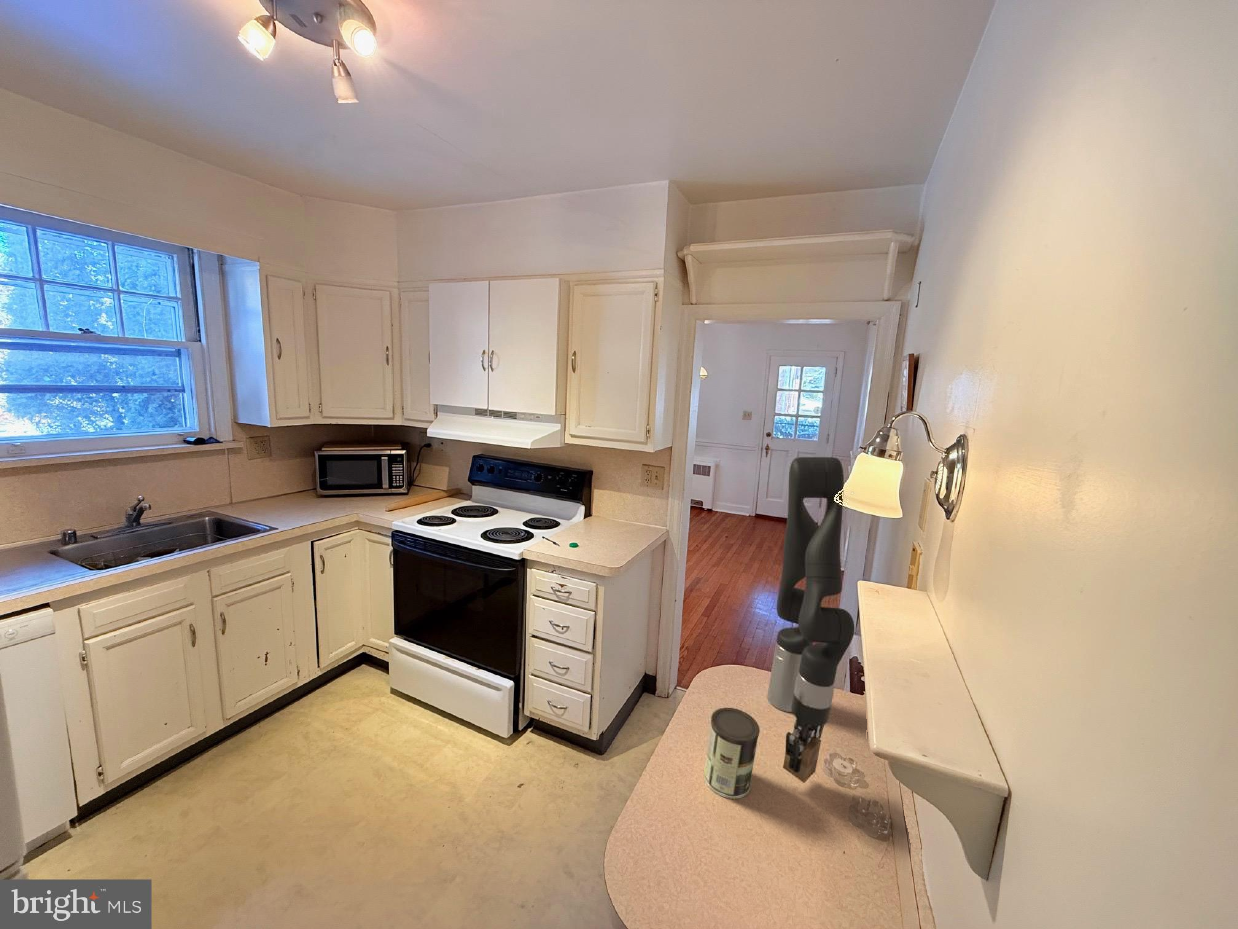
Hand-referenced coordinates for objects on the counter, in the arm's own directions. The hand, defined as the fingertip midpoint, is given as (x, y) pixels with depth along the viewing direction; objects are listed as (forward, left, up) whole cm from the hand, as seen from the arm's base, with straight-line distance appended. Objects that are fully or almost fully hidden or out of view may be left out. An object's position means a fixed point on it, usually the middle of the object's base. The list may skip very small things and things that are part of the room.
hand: (800, 763), depth 107 cm
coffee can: (+12, -10, -6) cm, 17 cm away
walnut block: (0, 0, -2) cm, 2 cm away
